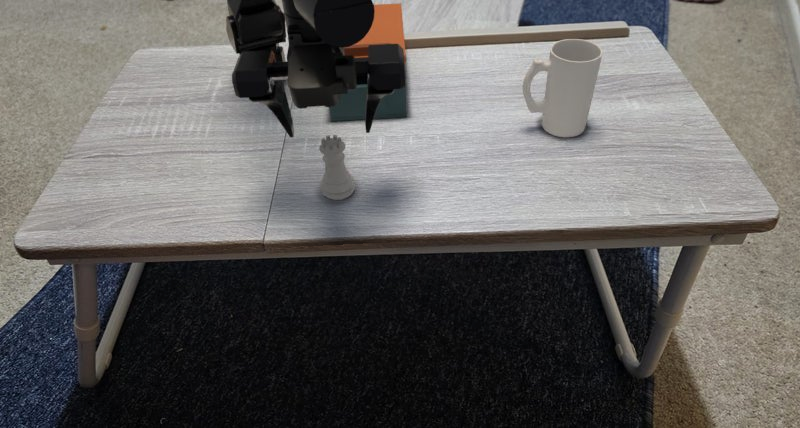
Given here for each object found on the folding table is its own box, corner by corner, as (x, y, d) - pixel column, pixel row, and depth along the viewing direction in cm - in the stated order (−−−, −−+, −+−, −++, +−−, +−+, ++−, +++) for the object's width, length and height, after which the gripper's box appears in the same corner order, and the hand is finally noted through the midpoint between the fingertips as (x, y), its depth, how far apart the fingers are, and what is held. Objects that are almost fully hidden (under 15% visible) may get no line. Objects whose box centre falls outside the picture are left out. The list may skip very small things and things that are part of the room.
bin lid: (405, 62, 90) (405, 46, 88) (326, 66, 90) (324, 50, 88) (401, 9, 105) (400, -6, 103) (333, 13, 105) (331, -2, 103)
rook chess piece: (352, 177, 78) (346, 127, 73) (358, 198, 75) (352, 147, 69) (319, 183, 77) (310, 133, 72) (324, 204, 74) (315, 154, 69)
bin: (406, 117, 88) (405, 84, 85) (331, 121, 88) (326, 89, 85) (402, 59, 102) (400, 29, 98) (336, 63, 102) (332, 33, 98)
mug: (579, 111, 87) (594, 37, 79) (592, 137, 82) (609, 60, 74) (513, 116, 87) (521, 41, 79) (522, 141, 82) (531, 65, 74)
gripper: (204, 49, 54) (242, 179, 64) (405, 37, 54) (410, 170, 64) (226, 0, 62) (257, 123, 72) (400, -9, 62) (405, 115, 72)
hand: (330, 133), depth 70 cm, fingers open, 9 cm apart
